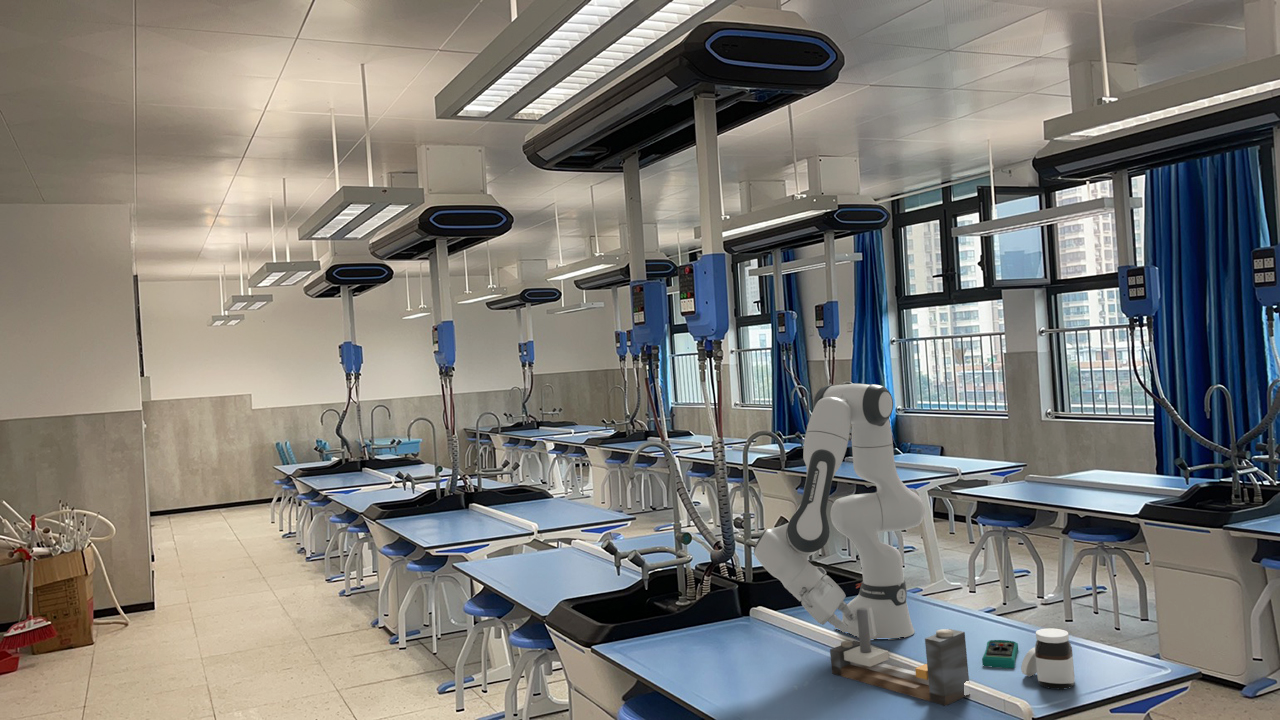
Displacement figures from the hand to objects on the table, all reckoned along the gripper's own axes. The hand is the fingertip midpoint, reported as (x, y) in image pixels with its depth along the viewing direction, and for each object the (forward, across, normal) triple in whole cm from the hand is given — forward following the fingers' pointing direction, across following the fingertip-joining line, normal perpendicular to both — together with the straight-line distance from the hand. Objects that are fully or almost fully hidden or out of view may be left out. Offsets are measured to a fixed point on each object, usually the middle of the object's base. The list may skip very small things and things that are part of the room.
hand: (849, 623), depth 228 cm
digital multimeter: (+33, +17, -14) cm, 39 cm away
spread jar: (+40, +2, -22) cm, 46 cm away
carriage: (+8, 0, +4) cm, 9 cm away
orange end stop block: (+19, -9, -7) cm, 23 cm away
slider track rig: (+17, -4, +1) cm, 17 cm away
